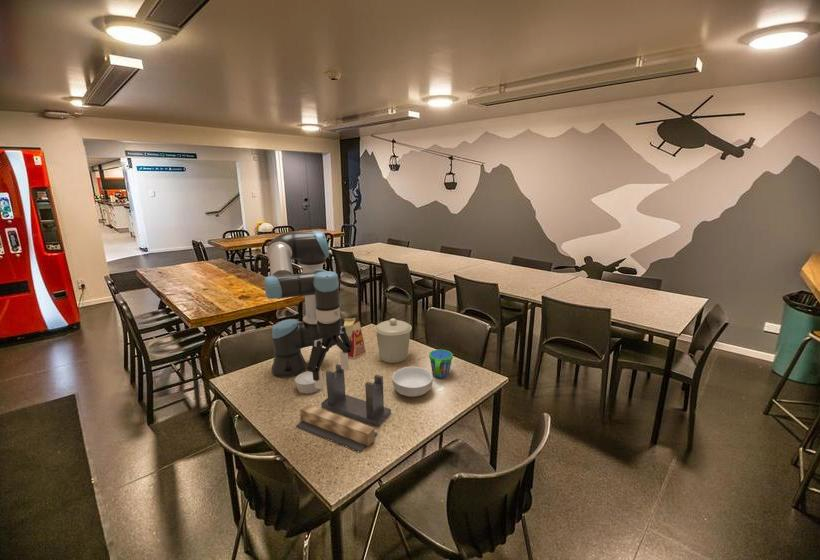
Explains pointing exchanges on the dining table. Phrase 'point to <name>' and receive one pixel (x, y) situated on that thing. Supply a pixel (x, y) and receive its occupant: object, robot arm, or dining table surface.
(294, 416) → the dining table surface
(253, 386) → the dining table surface
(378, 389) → the stand
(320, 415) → the maple rail
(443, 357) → the snack cup
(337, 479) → the dining table surface
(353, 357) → the milk carton
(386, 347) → the canister
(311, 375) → the ramekin
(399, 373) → the cereal bowl
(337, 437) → the black rubber mat
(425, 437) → the dining table surface
